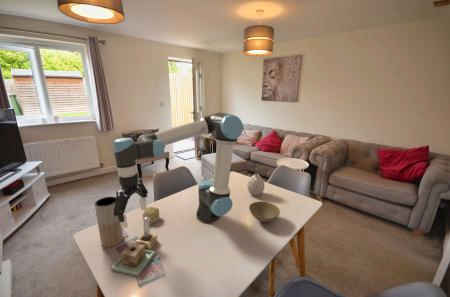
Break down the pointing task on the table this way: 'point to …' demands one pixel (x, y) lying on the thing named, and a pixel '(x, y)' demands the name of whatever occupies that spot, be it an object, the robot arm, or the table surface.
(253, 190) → the vase
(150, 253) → the tray
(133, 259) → the block
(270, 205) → the bowl
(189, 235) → the table surface
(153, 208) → the decorative item
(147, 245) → the block
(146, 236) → the cylinder
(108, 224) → the planter
